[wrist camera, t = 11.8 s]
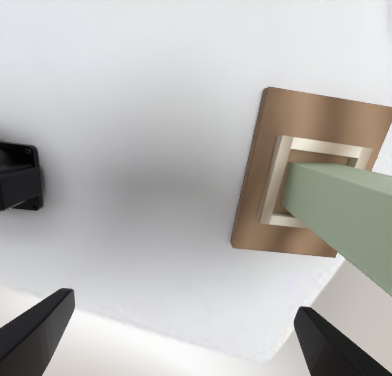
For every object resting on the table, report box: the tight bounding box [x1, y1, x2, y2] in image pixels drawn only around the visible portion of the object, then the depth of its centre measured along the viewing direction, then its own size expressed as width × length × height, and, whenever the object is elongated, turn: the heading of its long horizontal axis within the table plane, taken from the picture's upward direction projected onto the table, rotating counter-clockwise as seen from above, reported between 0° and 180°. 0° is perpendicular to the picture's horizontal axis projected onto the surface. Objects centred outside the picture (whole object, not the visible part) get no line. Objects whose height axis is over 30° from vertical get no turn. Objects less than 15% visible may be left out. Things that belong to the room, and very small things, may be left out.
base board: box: [231, 87, 392, 258], centre depth 19 cm, size 12×16×2 cm
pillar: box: [281, 162, 392, 296], centre depth 13 cm, size 4×4×13 cm
